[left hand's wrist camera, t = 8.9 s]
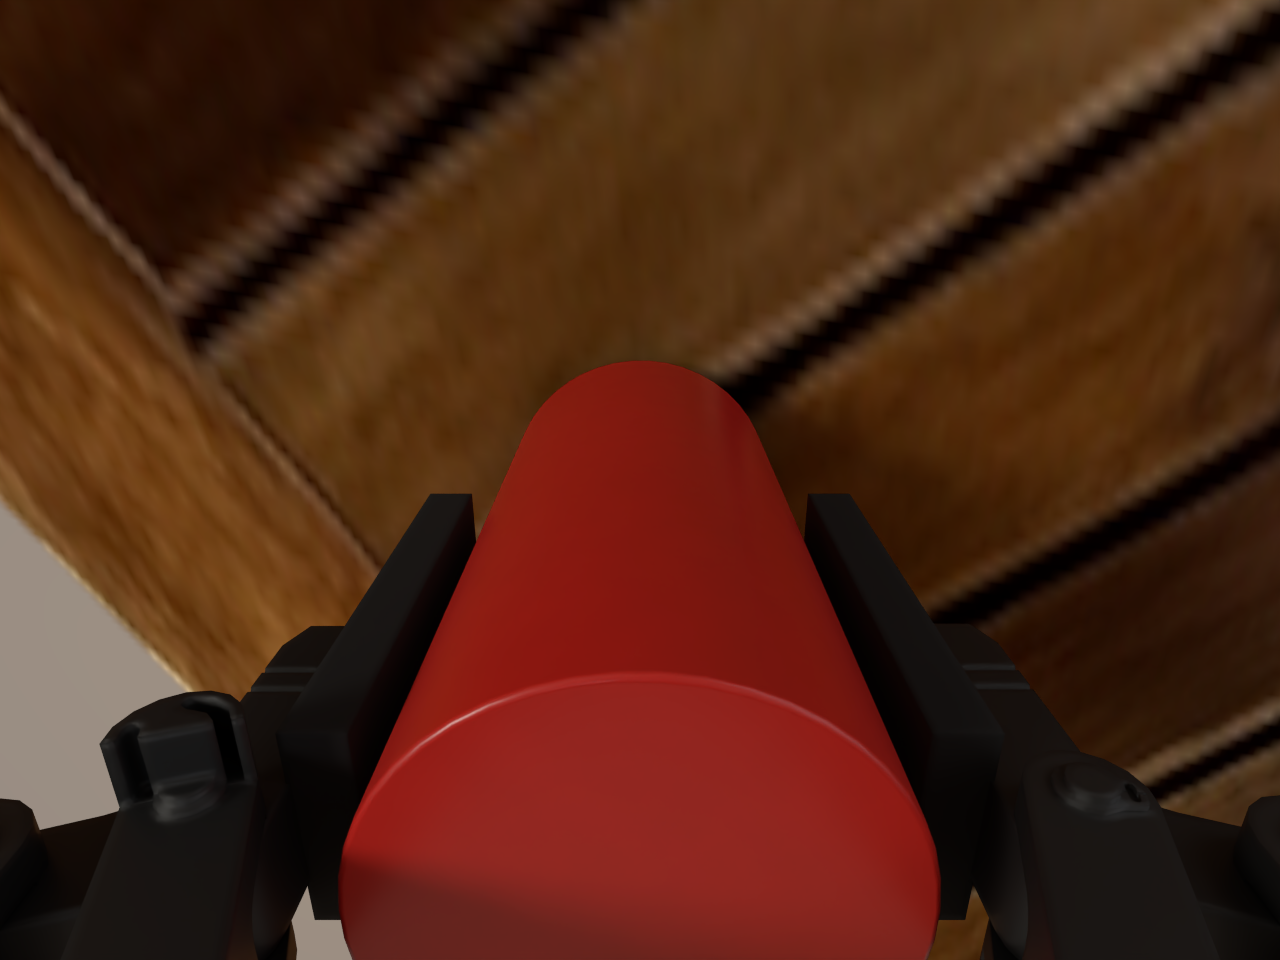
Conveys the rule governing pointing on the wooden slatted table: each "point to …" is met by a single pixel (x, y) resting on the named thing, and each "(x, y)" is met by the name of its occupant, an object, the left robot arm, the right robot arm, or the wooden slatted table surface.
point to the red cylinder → (639, 719)
